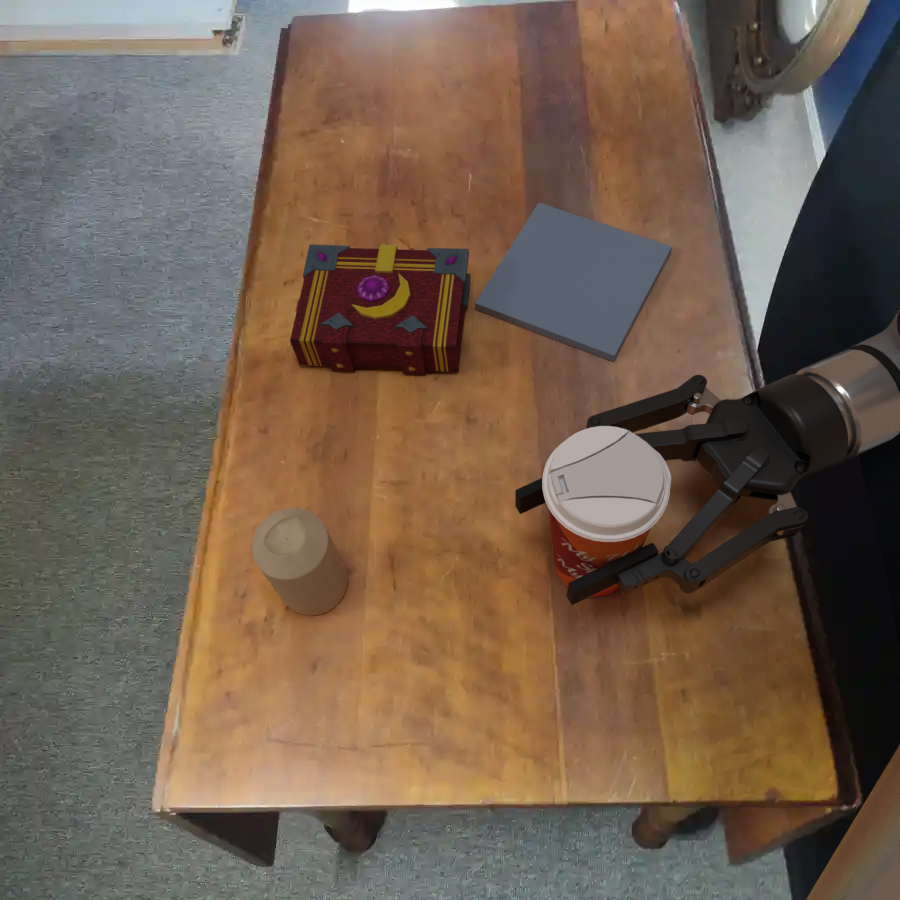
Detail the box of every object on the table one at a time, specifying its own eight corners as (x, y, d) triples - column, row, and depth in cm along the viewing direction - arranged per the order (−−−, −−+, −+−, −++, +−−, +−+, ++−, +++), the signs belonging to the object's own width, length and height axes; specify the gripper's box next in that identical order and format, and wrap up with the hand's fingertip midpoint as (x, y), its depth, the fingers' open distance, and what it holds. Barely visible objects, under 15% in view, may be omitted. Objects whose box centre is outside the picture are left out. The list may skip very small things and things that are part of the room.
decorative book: (460, 377, 76) (456, 345, 72) (286, 370, 78) (272, 337, 74) (471, 279, 82) (468, 243, 77) (308, 274, 83) (296, 239, 79)
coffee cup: (555, 622, 65) (561, 545, 52) (528, 526, 69) (528, 433, 56) (661, 598, 65) (694, 515, 52) (628, 504, 69) (651, 406, 56)
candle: (305, 540, 70) (275, 486, 61) (361, 570, 68) (339, 519, 59) (266, 596, 67) (229, 549, 59) (323, 629, 66) (294, 585, 57)
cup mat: (613, 362, 76) (614, 355, 75) (475, 309, 80) (474, 302, 79) (670, 253, 81) (672, 246, 81) (538, 209, 85) (538, 202, 84)
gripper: (886, 548, 61) (610, 688, 58) (728, 349, 71) (482, 460, 67) (931, 505, 55) (622, 660, 51) (750, 292, 64) (478, 411, 61)
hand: (543, 546), depth 59 cm, fingers closed on coffee cup, 7 cm apart
